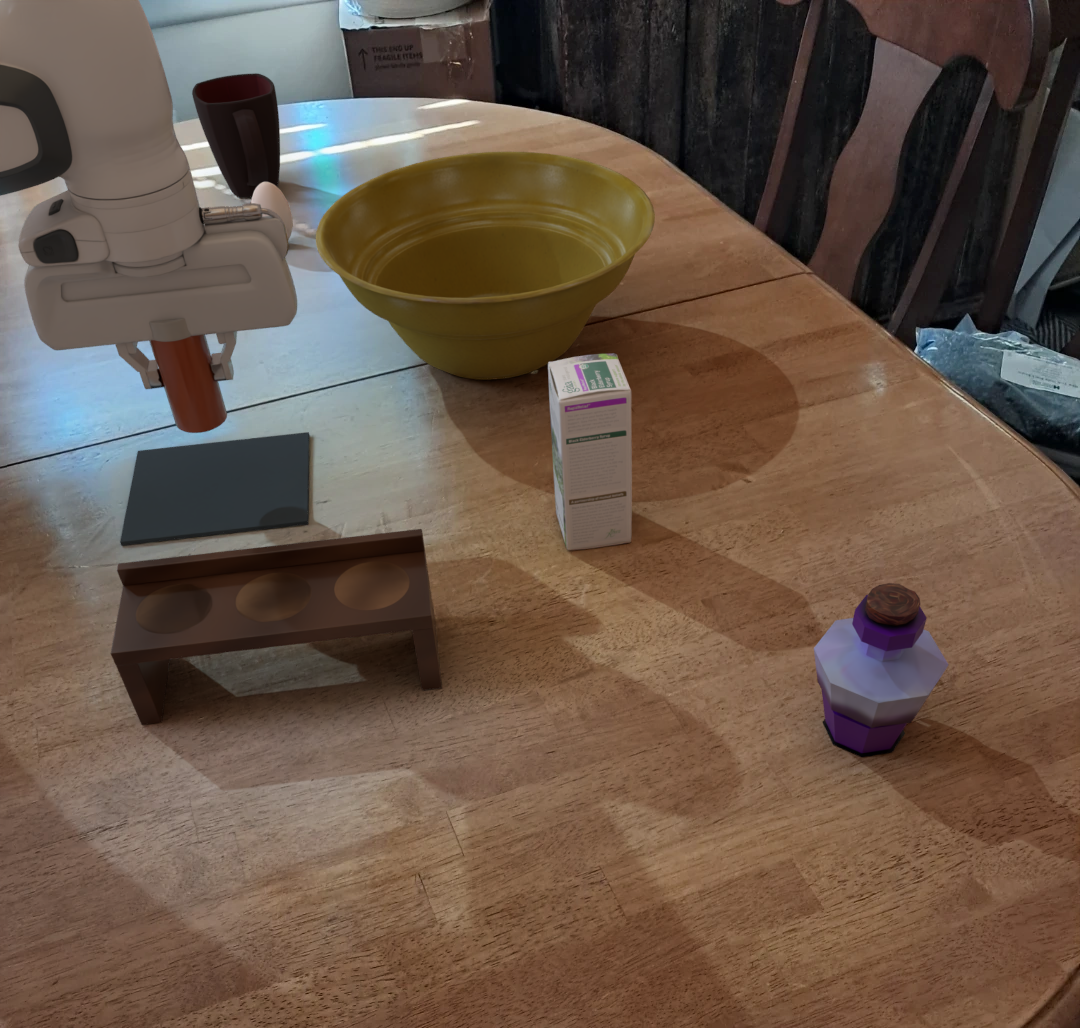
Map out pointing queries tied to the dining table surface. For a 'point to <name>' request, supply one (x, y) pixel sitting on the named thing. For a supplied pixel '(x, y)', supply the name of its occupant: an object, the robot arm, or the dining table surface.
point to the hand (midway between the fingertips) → (189, 381)
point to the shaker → (187, 376)
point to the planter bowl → (487, 254)
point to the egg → (274, 203)
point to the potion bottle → (877, 671)
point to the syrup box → (591, 450)
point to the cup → (241, 129)
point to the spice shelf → (270, 605)
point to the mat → (218, 488)
